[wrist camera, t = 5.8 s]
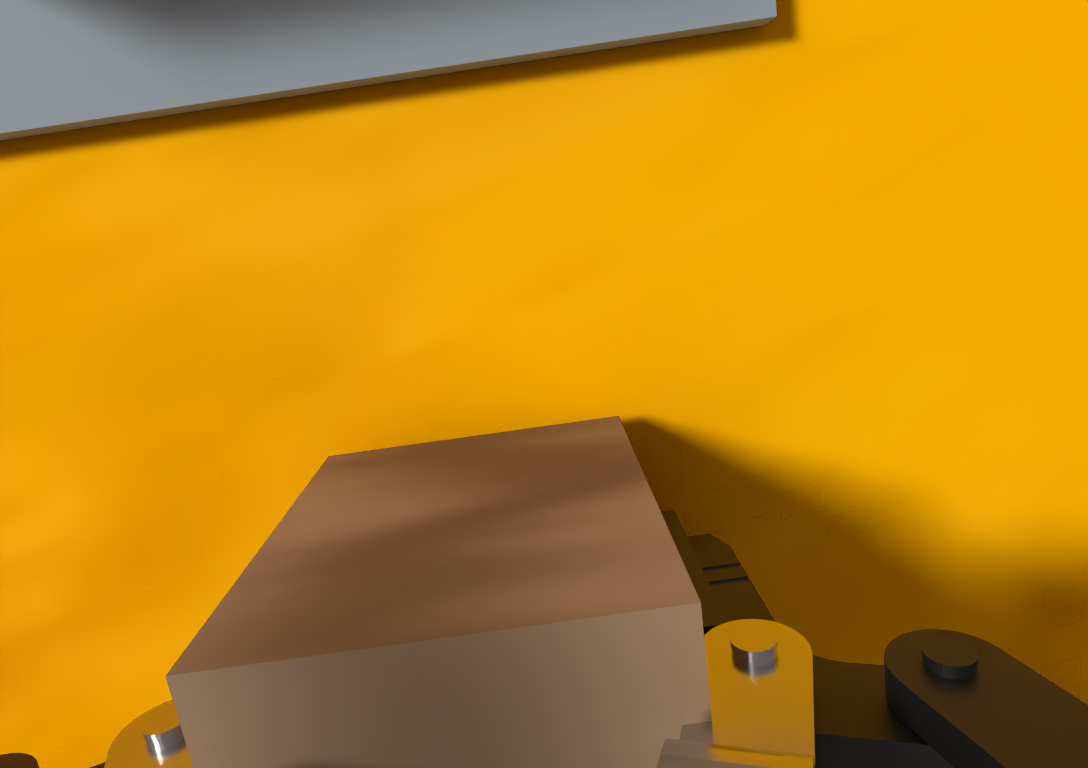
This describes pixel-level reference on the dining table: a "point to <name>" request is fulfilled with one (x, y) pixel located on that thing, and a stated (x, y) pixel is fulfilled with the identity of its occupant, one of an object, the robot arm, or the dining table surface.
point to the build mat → (295, 47)
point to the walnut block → (456, 616)
